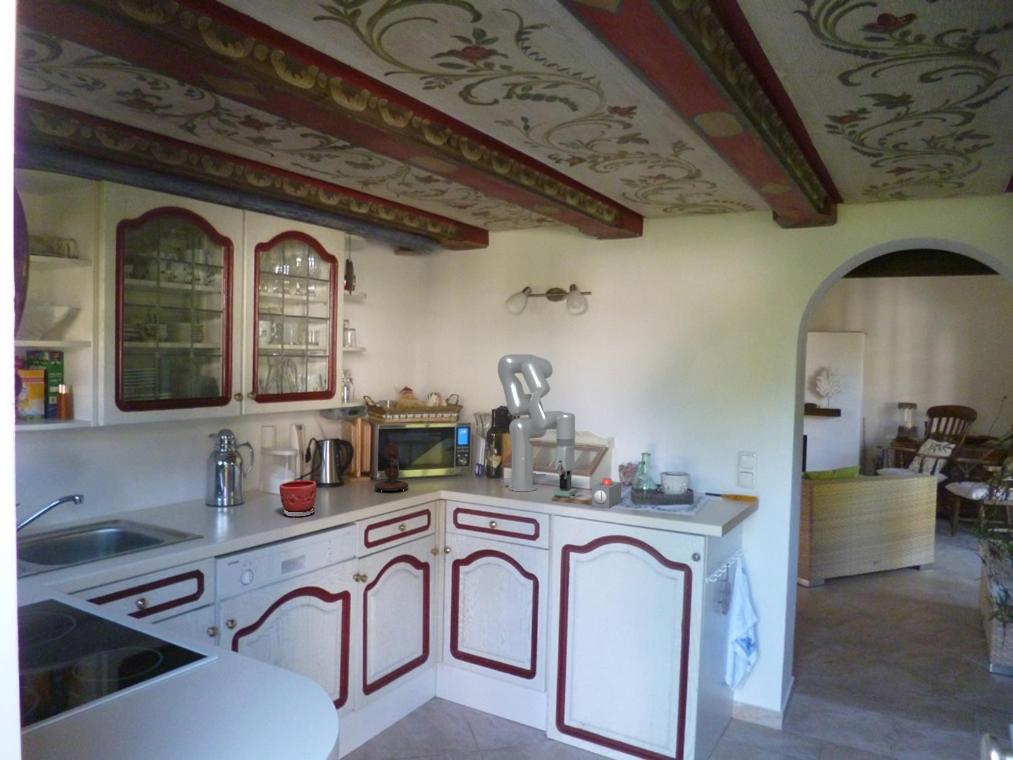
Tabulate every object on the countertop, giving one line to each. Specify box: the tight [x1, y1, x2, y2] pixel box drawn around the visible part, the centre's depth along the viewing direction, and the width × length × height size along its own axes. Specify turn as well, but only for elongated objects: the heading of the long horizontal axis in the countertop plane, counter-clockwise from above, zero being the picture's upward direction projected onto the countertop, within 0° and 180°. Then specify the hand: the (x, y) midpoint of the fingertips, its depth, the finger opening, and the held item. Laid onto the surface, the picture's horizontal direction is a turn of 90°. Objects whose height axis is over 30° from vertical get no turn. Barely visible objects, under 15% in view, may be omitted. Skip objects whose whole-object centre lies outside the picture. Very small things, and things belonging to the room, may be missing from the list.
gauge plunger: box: [601, 477, 613, 486], centre depth 287 cm, size 4×4×5 cm
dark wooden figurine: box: [374, 443, 409, 491], centre depth 315 cm, size 15×15×20 cm
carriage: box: [552, 474, 578, 496], centre depth 296 cm, size 7×8×8 cm
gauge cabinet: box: [591, 481, 622, 509], centre depth 287 cm, size 7×15×8 cm, turn 152°
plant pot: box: [279, 479, 317, 513], centre depth 268 cm, size 13×13×12 cm
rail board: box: [551, 493, 592, 506], centre depth 293 cm, size 18×9×2 cm, turn 62°
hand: (565, 487), depth 296 cm, fingers closed on carriage, 3 cm apart
